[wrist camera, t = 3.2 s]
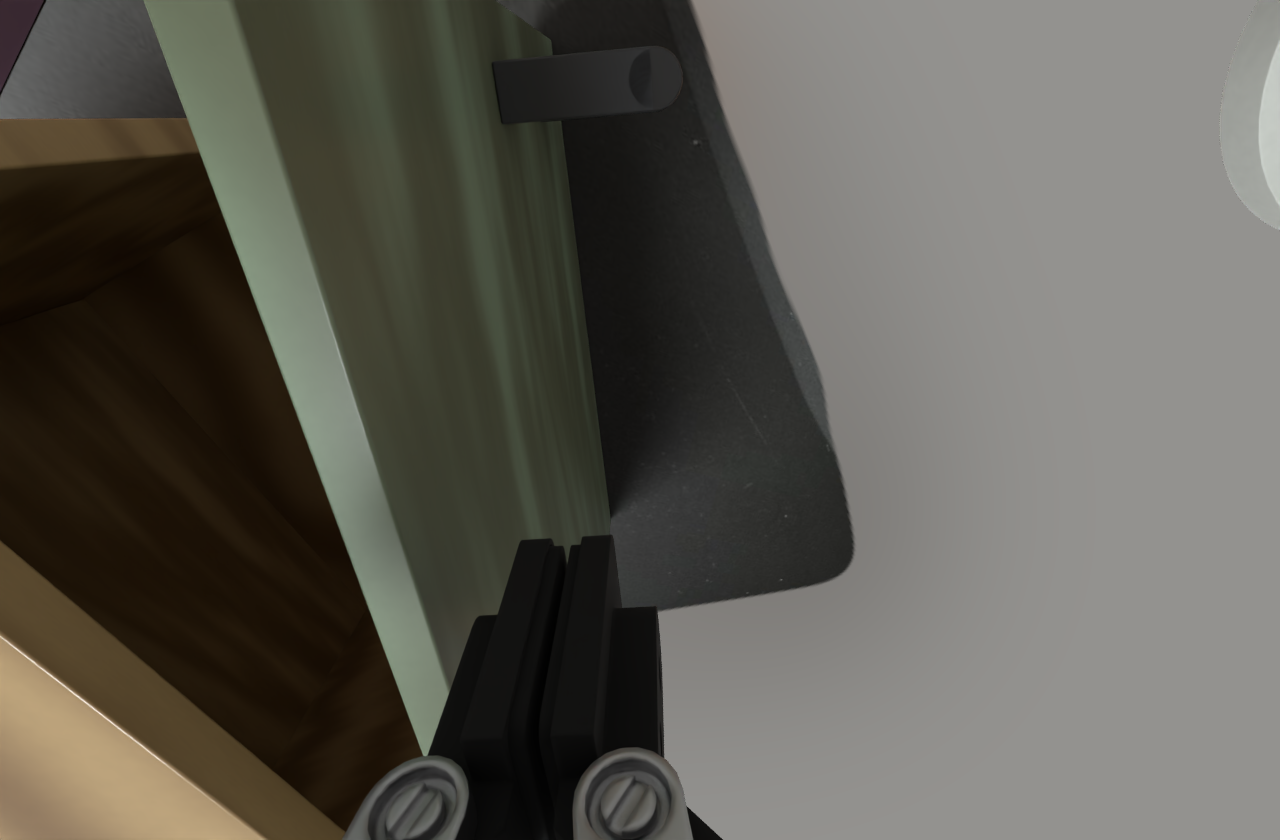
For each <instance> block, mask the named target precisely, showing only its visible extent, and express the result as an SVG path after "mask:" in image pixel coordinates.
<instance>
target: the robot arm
mask: <svg viewBox="0 0 1280 840" xmlns="http://www.w3.org/2000/svg"><path fill="white" fill-rule="evenodd" d="M661 663H662V662H661V646H660V633H659V623H658V612H657V607H656V606H654V607H635V608H622V603H621V595H620V587H619V579H618V571H617V563H616V555H615V547H614V539H613V536H612V535H598V536H583V537H582V540H581V545H571V547H570V552H569V558H568V563H567V561H566V555H565V550H564V547H563V546H554V542H553V540H552V539H551V538H546V539H529V540H521V541H520V543H519V546H518V549H517V552H516V555H515V559H514V562H513V565H512V569H511V572H510V575H509V578H508V582H507V585H506V588H505V592H504V595H503V598H502V601H501V605H500V608H499V611H498V615H481V616H478V617H477V618H476V619H475V621H474V624H473V626H472V629H471V631H470V634H469V637H468V640H467V643H466V646H465V649H464V652H463V654H462V657H461V660H460V663H459V666H458V669H457V672H456V675H455V678H454V680H453V683H452V686H451V689H450V692H449V695H448V698H447V701H446V703H445V706H444V709H443V712H442V715H441V718H440V721H439V724H438V727H437V729H436V732H435V735H434V738H433V741H432V744H431V747H430V750H429V752H428V755H427V756H421V757H418V758H415V759H412V760H409V761H406V762H404V763H402V764H401V765H399V766H397V767H396V768H394V769H392V770H391V771H389V772H388V773H387V774H386V775H385V776H384V777H383V778H382V779H380V780H379V781H378V782H377V783H376V784H375V785H374V787H373V788H372V789H371V791H370V792H369V794H368V795H367V796H366V798H365V799H364V801H363V802H362V804H361V806H360V808H359V810H358V811H357V813H356V815H355V817H354V819H353V820H352V822H351V824H350V826H349V827H348V829H347V831H346V833H345V835H344V836H343V838H342V840H723V839H722V838H720V837H719V836H718V835H717V834H716V833H715V832H714V831H713V830H712V829H710V827H709V826H707V825H706V824H705V823H704V822H703V821H702V820H701V819H700V818H699V817H698V816H697V815H696V814H695V813H693V812H692V811H691V810H690V809H689V808H688V807H687V806H686V802H685V798H684V792H683V788H682V785H681V783H680V780H679V777H678V775H677V772H676V771H675V770H674V769H673V767H672V766H671V765H670V764H669V763H668V761H667V760H666V759H664V728H663V690H662V689H663V687H662V664H661Z"/></svg>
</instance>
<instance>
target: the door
mask: <svg viewBox="0 0 1280 840" xmlns="http://www.w3.org/2000/svg"><path fill="white" fill-rule="evenodd" d="M143 1H144V3H145V6H146V9H147V11H148V14H149V17H150V20H151V22H152V25H153V28H154V30H155V33H156V36H157V38H158V41H159V44H160V47H161V49H162V52H163V55H164V57H165V60H166V63H167V65H168V68H169V71H170V74H171V76H172V79H173V82H174V84H175V87H176V90H177V92H178V95H179V98H180V101H181V103H182V106H183V109H184V111H185V114H186V117H187V119H188V122H189V125H190V128H191V130H192V133H193V136H194V138H195V141H196V144H197V146H198V149H199V152H200V155H201V157H202V160H203V163H204V165H205V168H206V171H207V173H208V176H209V179H210V182H211V184H212V187H213V190H214V192H215V195H216V198H217V200H218V203H219V206H220V209H221V211H222V214H223V217H224V219H225V222H226V225H227V227H228V230H229V233H230V236H231V238H232V241H233V244H234V246H235V249H236V252H237V254H238V257H239V260H240V263H241V265H242V268H243V271H244V273H245V276H246V279H247V281H248V284H249V287H250V290H251V292H252V295H253V298H254V300H255V303H256V306H257V308H258V311H259V314H260V317H261V319H262V322H263V325H264V327H265V330H266V333H267V335H268V338H269V341H270V344H271V346H272V349H273V352H274V354H275V357H276V360H277V362H278V365H279V368H280V371H281V373H282V376H283V379H284V381H285V384H286V387H287V389H288V392H289V395H290V398H291V400H292V403H293V406H294V408H295V411H296V414H297V416H298V419H299V422H300V425H301V427H302V430H303V433H304V435H305V438H306V441H307V443H308V446H309V449H310V452H311V454H312V457H313V460H314V462H315V465H316V468H317V470H318V473H319V476H320V479H321V481H322V484H323V487H324V489H325V492H326V495H327V497H328V500H329V503H330V506H331V508H332V511H333V514H334V516H335V519H336V522H337V524H338V527H339V530H340V533H341V535H342V538H343V541H344V543H345V546H346V549H347V551H348V554H349V557H350V560H351V562H352V565H353V568H354V570H355V573H356V576H357V578H358V581H359V584H360V587H361V589H362V592H363V595H364V597H365V600H366V603H367V605H368V608H369V611H370V614H371V616H372V619H373V622H374V624H375V627H376V630H377V632H378V635H379V638H380V641H381V643H382V646H383V649H384V651H385V654H386V657H387V659H388V662H389V665H390V668H391V670H392V673H393V676H394V678H395V681H396V684H397V686H398V689H399V692H400V695H401V697H402V700H403V703H404V705H405V708H406V711H407V713H408V716H409V719H410V722H411V724H412V727H413V730H414V732H415V735H416V738H417V740H418V743H419V746H420V749H421V751H422V754H423V756H427V755H428V752H429V750H430V747H431V744H432V741H433V738H434V735H435V732H436V729H437V727H438V724H439V721H440V718H441V715H442V712H443V709H444V706H445V703H446V701H447V698H448V695H449V692H450V689H451V686H452V683H453V680H454V678H455V675H456V672H457V669H458V666H459V663H460V660H461V657H462V654H463V652H464V649H465V646H466V643H467V640H468V637H469V634H470V631H471V629H472V626H473V624H474V621H475V619H476V618H477V617H478V616H481V615H498V611H499V608H500V605H501V601H502V598H503V595H504V592H505V588H506V585H507V582H508V578H509V575H510V572H511V569H512V565H513V562H514V559H515V555H516V552H517V549H518V546H519V543H520V541H521V540H529V539H546V538H551V539H552V540H553V542H554V546H563V547H564V550H565V555H566V561H567V563H568V558H569V552H570V547H571V545H581V540H582V537H583V536H598V535H609V532H610V523H611V518H610V510H609V502H608V494H607V486H606V478H605V470H604V462H603V454H602V446H601V438H600V430H599V422H598V414H597V406H596V398H595V390H594V382H593V374H592V366H591V358H590V350H589V342H588V333H587V325H586V317H585V309H584V301H583V293H582V285H581V277H580V269H579V261H578V253H577V245H576V237H575V229H574V221H573V213H572V205H571V197H570V189H569V181H568V173H567V165H566V157H565V149H564V141H563V132H562V124H561V121H563V120H574V119H585V118H596V117H607V116H618V115H629V114H640V113H651V112H659V111H662V110H664V109H666V108H667V107H668V106H670V105H671V104H672V103H673V102H674V101H675V100H676V98H677V97H678V95H679V93H680V91H681V88H682V83H683V73H682V68H681V65H680V63H679V61H678V59H677V57H676V56H675V55H674V54H673V53H672V52H671V51H670V50H668V49H666V48H664V47H661V46H643V47H633V48H623V49H612V50H602V51H592V52H581V53H571V54H561V55H553V52H552V44H551V40H550V39H549V38H547V37H546V36H545V35H543V34H542V33H540V32H539V31H538V30H536V29H535V28H533V27H532V26H531V25H529V24H528V23H526V22H525V21H524V20H522V19H521V18H519V17H518V16H517V15H515V14H514V13H512V12H511V11H510V10H508V9H507V8H505V7H504V6H503V5H501V4H500V3H498V2H497V1H496V0H143Z"/></svg>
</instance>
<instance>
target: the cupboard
mask: <svg viewBox="0 0 1280 840" xmlns="http://www.w3.org/2000/svg"><path fill="white" fill-rule="evenodd" d="M421 756H423V754H422V751H421V749H420V746H419V743H418V740H417V738H416V735H415V732H414V730H413V727H412V724H411V722H410V719H409V716H408V713H407V711H406V708H405V705H404V703H403V700H402V697H401V695H400V692H399V689H398V686H397V684H396V681H395V678H394V676H393V673H392V670H391V668H390V665H389V662H388V659H387V657H386V654H385V651H384V649H383V646H382V643H381V641H380V638H379V635H378V632H377V630H376V627H375V624H374V622H373V619H372V616H371V614H370V611H369V608H368V605H367V603H366V600H365V597H364V595H363V592H362V589H361V587H360V584H359V581H358V578H357V576H356V573H355V570H354V568H353V565H352V562H351V560H350V557H349V554H348V551H347V549H346V546H345V543H344V541H343V538H342V535H341V533H340V530H339V527H338V524H337V522H336V519H335V516H334V514H333V511H332V508H331V506H330V503H329V500H328V497H327V495H326V492H325V489H324V487H323V484H322V481H321V479H320V476H319V473H318V470H317V468H316V465H315V462H314V460H313V457H312V454H311V452H310V449H309V446H308V443H307V441H306V438H305V435H304V433H303V430H302V427H301V425H300V422H299V419H298V416H297V414H296V411H295V408H294V406H293V403H292V400H291V398H290V395H289V392H288V389H287V387H286V384H285V381H284V379H283V376H282V373H281V371H280V368H279V365H278V362H277V360H276V357H275V354H274V352H273V349H272V346H271V344H270V341H269V338H268V335H267V333H266V330H265V327H264V325H263V322H262V319H261V317H260V314H259V311H258V308H257V306H256V303H255V300H254V298H253V295H252V292H251V290H250V287H249V284H248V281H247V279H246V276H245V273H244V271H243V268H242V265H241V263H240V260H239V257H238V254H237V252H236V249H235V246H234V244H233V241H232V238H231V236H230V233H229V230H228V227H227V225H226V222H225V219H224V217H223V214H222V211H221V209H220V206H219V203H218V200H217V198H216V195H215V192H214V190H213V187H212V184H211V182H210V179H209V176H208V173H207V171H206V168H205V165H204V163H203V160H202V157H201V155H200V152H199V149H198V146H197V144H196V141H195V138H194V136H193V133H192V130H191V128H190V125H189V122H188V119H187V118H103V119H0V840H342V838H343V836H344V835H345V833H346V831H347V829H348V827H349V826H350V824H351V822H352V820H353V819H354V817H355V815H356V813H357V811H358V810H359V808H360V806H361V804H362V802H363V801H364V799H365V798H366V796H367V795H368V794H369V792H370V791H371V789H372V788H373V787H374V785H375V784H376V783H377V782H378V781H379V780H380V779H382V778H383V777H384V776H385V775H386V774H387V773H388V772H389V771H391V770H392V769H394V768H396V767H397V766H399V765H401V764H402V763H404V762H406V761H409V760H412V759H415V758H418V757H421Z"/></svg>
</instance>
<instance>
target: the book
mask: <svg viewBox="0 0 1280 840" xmlns="http://www.w3.org/2000/svg"><path fill="white" fill-rule="evenodd" d="M43 1H44V0H0V91H1V89H2V87H3V85H4V83H5V81H6V79H7V76H8V74H9V72H10V70H11V68H12V66H13V64H14V62H15V60H16V58H17V55H18V53H19V51H20V49H21V47H22V45H23V43H24V41H25V39H26V37H27V35H28V32H29V30H30V28H31V26H32V24H33V22H34V20H35V18H36V16H37V14H38V11H39V9H40V7H41V5H42V3H43Z"/></svg>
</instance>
